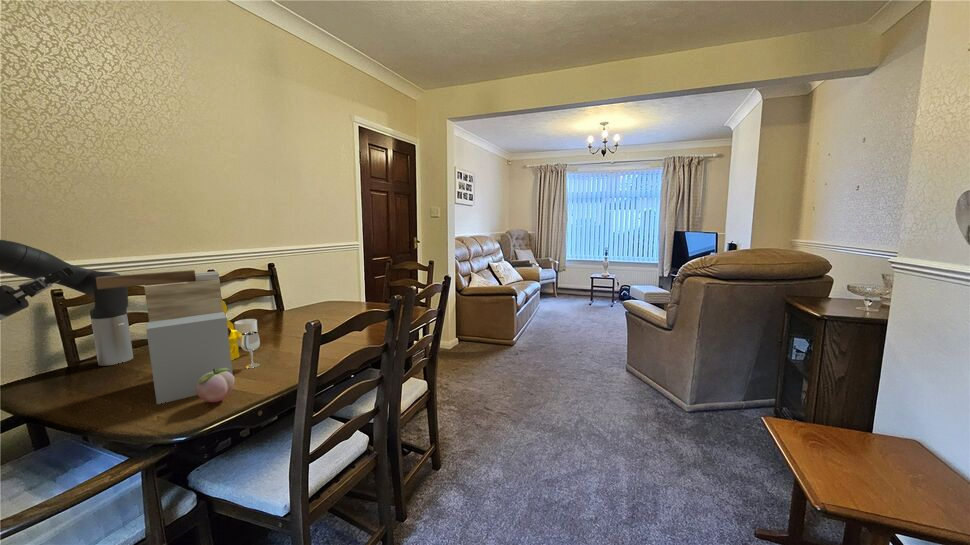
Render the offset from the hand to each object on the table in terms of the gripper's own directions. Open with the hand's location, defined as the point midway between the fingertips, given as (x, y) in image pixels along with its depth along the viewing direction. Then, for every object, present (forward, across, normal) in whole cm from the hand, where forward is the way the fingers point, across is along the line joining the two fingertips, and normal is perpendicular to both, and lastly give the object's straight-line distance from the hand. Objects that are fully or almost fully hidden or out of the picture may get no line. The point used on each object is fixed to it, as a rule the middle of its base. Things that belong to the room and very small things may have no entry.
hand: (68, 271), depth 105 cm
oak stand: (+4, -6, +44) cm, 45 cm away
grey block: (+4, -18, +44) cm, 48 cm away
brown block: (+15, -6, +14) cm, 22 cm away
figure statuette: (+12, +6, +50) cm, 51 cm away
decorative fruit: (+7, -32, +47) cm, 57 cm away
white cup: (+20, +20, +54) cm, 60 cm away
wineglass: (+18, -8, +53) cm, 56 cm away
